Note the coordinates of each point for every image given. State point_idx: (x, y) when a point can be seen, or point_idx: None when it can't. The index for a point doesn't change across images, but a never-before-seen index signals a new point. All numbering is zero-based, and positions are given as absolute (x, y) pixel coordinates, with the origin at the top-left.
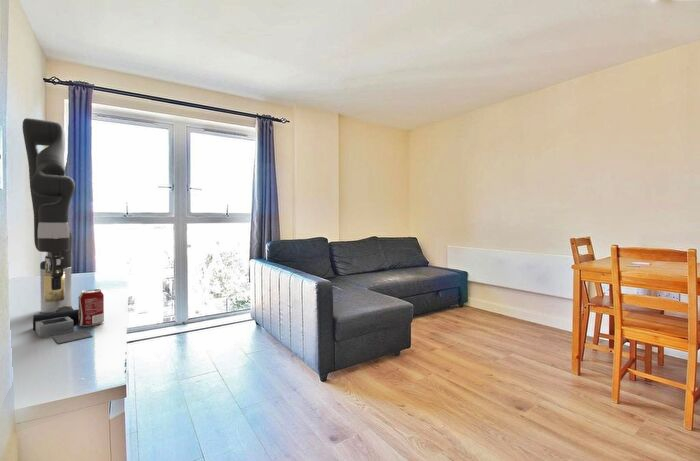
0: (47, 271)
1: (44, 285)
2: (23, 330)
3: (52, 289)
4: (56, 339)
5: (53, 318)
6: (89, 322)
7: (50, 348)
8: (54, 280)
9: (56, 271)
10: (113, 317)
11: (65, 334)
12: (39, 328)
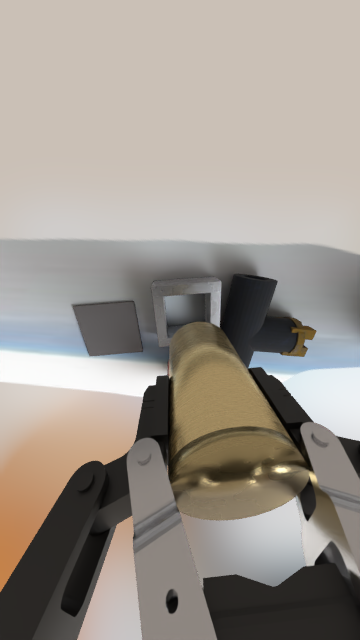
0: (342, 469)
1: (204, 366)
2: (257, 255)
3: (157, 377)
4: (103, 306)
5: (230, 315)
6: (168, 364)
7: (51, 293)
8: (138, 433)
9: (298, 497)
10: None
11: (133, 321)
12: (153, 285)
